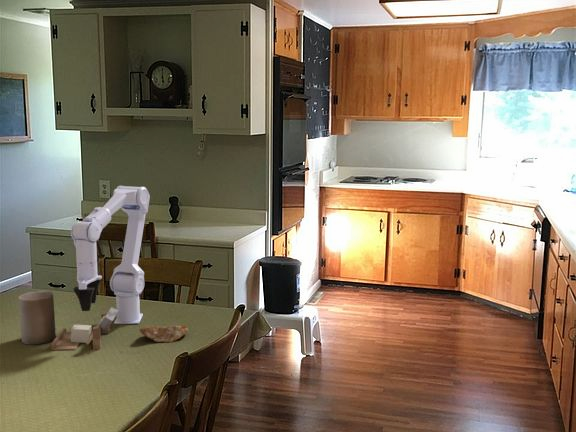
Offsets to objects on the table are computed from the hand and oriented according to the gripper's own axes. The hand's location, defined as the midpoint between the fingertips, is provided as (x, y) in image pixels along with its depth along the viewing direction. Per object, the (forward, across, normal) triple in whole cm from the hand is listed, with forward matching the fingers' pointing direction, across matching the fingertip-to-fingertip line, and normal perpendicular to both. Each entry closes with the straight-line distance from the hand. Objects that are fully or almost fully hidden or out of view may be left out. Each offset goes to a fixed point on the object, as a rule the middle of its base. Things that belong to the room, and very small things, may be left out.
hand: (88, 306), depth 187 cm
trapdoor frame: (+10, 0, +3) cm, 11 cm away
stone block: (+8, 0, +2) cm, 8 cm away
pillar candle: (+11, +2, +16) cm, 19 cm away
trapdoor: (+7, 0, -5) cm, 8 cm away
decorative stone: (+11, +1, -22) cm, 24 cm away
